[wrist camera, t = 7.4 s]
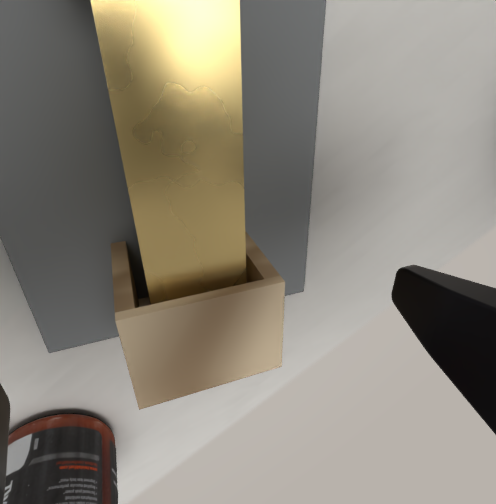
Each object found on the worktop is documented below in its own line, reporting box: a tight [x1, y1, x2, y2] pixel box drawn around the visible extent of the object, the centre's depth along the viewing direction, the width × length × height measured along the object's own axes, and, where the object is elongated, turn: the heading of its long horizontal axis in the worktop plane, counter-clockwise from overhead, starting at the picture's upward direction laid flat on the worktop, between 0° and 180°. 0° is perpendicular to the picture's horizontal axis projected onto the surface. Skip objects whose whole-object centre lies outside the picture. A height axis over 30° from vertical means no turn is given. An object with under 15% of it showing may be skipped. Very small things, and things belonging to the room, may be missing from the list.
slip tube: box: [90, 0, 246, 305], centre depth 12 cm, size 3×14×3 cm, turn 1°
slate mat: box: [0, 0, 326, 353], centre depth 13 cm, size 13×22×1 cm, turn 1°
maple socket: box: [111, 231, 285, 410], centre depth 15 cm, size 6×4×5 cm
